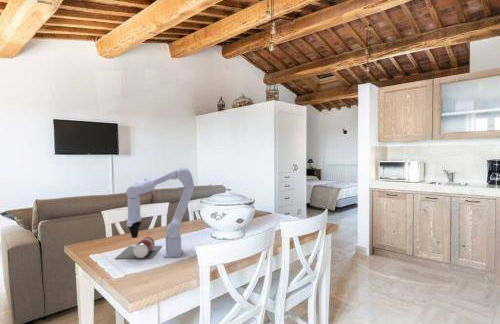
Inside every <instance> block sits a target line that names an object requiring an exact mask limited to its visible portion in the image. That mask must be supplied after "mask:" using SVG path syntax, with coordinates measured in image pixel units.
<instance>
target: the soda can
mask: <svg viewBox="0 0 500 324" xmlns="http://www.w3.org/2000/svg"><path fill="white" fill-rule="evenodd" d="M154 246H156V245H155V241H154V239H153V238H152V237H150V236H145V237H143V238H142V239H140V241H138V242H137V243H136V244H135V245H134V248H133V253H134V255H135V256H136V257H137V258H144V257H145V256H147V254H148V253H149V252H150V251H151V250H152V249H153V247H154Z"/></svg>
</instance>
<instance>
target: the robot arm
mask: <svg viewBox="0 0 500 324" xmlns="http://www.w3.org/2000/svg"><path fill="white" fill-rule="evenodd" d="M169 180H175V181H176V180H179V181H180V183H182V186H183V188H184V189H183V192H182V194H181V197H180V199H179V202H178V204H177V207H176V209H175V212H174V215H173V217H172V219H171V221H170V222H169V223H168V224H167V228H166V230H165V253H164V255H163V258H179V257H181V256H182V254H183V252H184V249H182V237H181V234H180V229H181V228H180V227H181V224H182V221H183V218H184V215H185V213H186V211H187V208H188V205H189V203H190V200H191V198H192V195H193V193H194V190H195V183H194V179H193V175H192V173H191V171H190V170H189V169H188V167H181V168H177V169H174V170H170V171H169V172H166V173H164V174H162V175H160V176H158V177H156V178H154V179H153V178H146V177H145V178H144V179H143V180H142V181H140V182H135V183H134V184H133V185H131V186H129V187H128V188H127V189H126V192H125V193H126V196H127V218H125V222H126V228H128V230H129V231H130V234H131V235H130V236H131V238H132V239H136V238H138V235H139V231H140V228H141V226H142V222H141V220H142V215H141V199H140V197H141V195H144V194H146V193H148V192H150V191H153V190H155V188H156V186H158V185H159V184H162V183H165V182H166V181H169Z"/></svg>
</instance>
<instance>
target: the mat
mask: <svg viewBox="0 0 500 324" xmlns="http://www.w3.org/2000/svg"><path fill="white" fill-rule="evenodd" d="M134 246H135V245H134ZM134 246H133V245H131V246H130V245H129V246H127V247H126V248H125V249H124V250H122V251H121V252H120V253H119V254H118V255H117V256H116V257H115V258H114V260H143V259H144V260H146V259H147V260H151V259H153V258H154V257H155V256H156V255H157V253H159V251H161V248H163V245H154V247H153V249H152V250H151V251H150V252H149V253H148V254H147V256H145V257H144V258H137V257H136V256H135V255H134V253H133V248H134Z"/></svg>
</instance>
